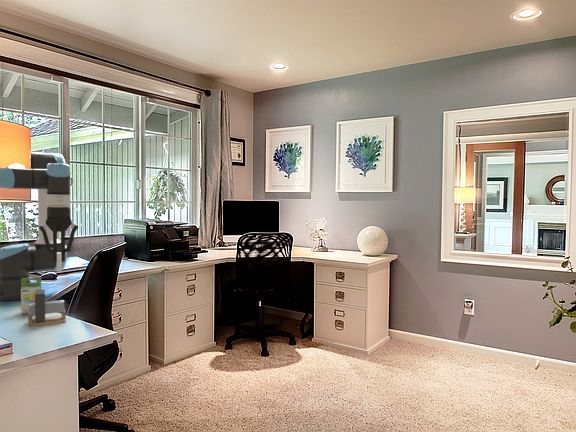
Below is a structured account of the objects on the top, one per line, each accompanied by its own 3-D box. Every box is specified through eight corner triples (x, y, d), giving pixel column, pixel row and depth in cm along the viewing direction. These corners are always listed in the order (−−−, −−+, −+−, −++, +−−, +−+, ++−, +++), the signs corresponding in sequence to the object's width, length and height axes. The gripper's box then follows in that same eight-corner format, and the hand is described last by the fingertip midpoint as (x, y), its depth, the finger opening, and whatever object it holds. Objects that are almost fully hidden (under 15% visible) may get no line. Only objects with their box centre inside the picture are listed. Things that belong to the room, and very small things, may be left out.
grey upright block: (35, 317, 158) (35, 290, 158) (44, 316, 160) (44, 289, 159) (35, 322, 151) (35, 294, 151) (45, 321, 153) (44, 293, 152)
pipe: (29, 313, 156) (29, 302, 155) (63, 309, 161) (63, 299, 161) (29, 316, 152) (29, 305, 152) (64, 312, 158) (64, 301, 157)
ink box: (21, 314, 165) (20, 279, 164) (21, 312, 168) (21, 278, 167) (42, 312, 168) (41, 278, 168) (42, 310, 172) (41, 276, 171)
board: (28, 320, 157) (28, 311, 157) (64, 316, 163) (64, 308, 163) (28, 326, 150) (28, 317, 150) (65, 321, 156) (65, 313, 156)
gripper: (38, 206, 150) (38, 273, 152) (79, 206, 157) (79, 271, 158) (38, 205, 157) (38, 270, 158) (77, 205, 163) (78, 267, 165)
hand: (59, 270), depth 158 cm, fingers closed
